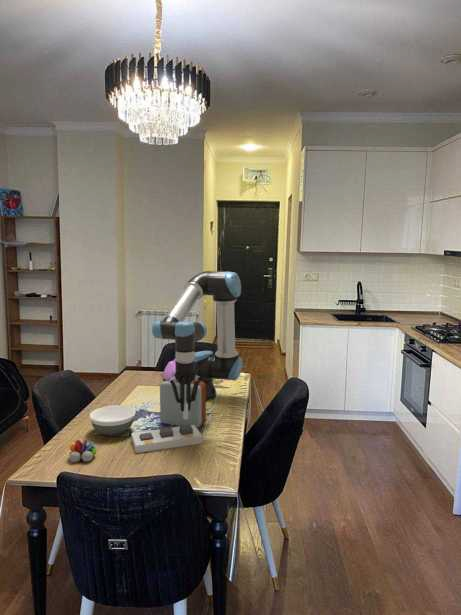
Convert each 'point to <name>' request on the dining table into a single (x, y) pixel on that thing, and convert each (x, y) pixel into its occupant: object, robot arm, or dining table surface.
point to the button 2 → (186, 429)
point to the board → (165, 440)
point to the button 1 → (146, 436)
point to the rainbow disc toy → (82, 451)
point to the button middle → (166, 432)
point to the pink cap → (170, 370)
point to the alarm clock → (171, 408)
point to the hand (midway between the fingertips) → (185, 418)
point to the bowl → (112, 419)
